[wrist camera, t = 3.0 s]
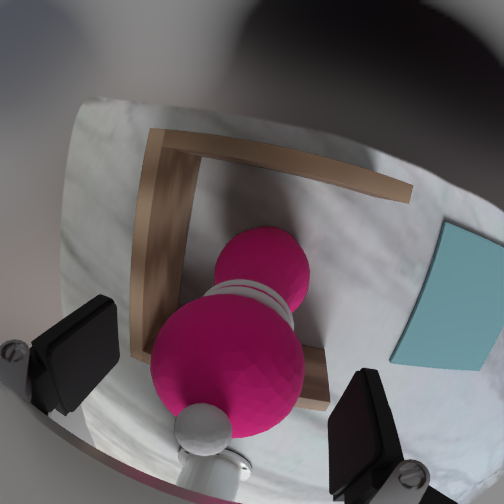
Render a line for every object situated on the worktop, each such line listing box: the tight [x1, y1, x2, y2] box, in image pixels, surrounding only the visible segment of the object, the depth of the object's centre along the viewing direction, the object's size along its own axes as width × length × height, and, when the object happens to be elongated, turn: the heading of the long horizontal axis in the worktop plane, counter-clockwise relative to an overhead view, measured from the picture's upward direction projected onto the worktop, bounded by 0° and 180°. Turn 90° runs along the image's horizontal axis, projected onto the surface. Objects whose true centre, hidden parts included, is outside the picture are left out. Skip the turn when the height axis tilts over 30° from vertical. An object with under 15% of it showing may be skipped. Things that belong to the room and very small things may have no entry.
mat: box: [389, 222, 504, 371], centre depth 23 cm, size 16×16×1 cm
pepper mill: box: [150, 226, 310, 456], centre depth 16 cm, size 7×7×20 cm
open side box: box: [130, 128, 413, 411], centre depth 21 cm, size 18×17×8 cm
